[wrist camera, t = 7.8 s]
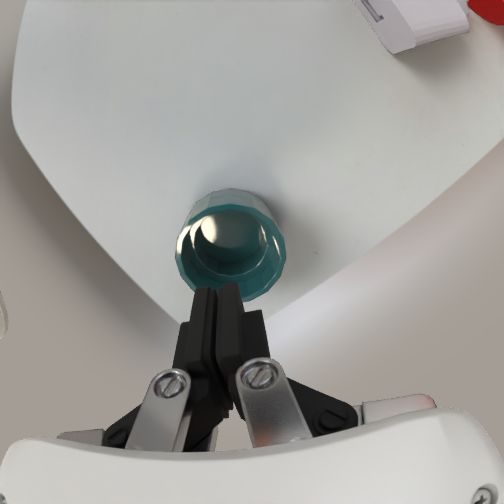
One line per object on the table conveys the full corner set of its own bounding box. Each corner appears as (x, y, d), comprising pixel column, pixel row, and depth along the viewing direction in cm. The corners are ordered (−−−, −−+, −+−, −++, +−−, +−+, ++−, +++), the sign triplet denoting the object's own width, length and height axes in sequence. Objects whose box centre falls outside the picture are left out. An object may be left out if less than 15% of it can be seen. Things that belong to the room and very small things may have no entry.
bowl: (198, 276, 24) (192, 310, 19) (177, 197, 21) (162, 216, 16) (279, 262, 24) (290, 293, 19) (267, 180, 21) (278, 194, 16)
